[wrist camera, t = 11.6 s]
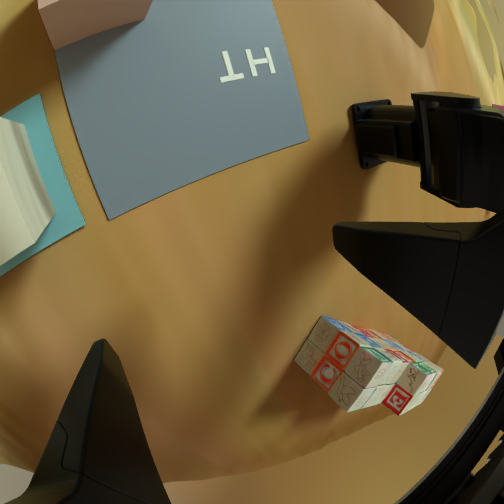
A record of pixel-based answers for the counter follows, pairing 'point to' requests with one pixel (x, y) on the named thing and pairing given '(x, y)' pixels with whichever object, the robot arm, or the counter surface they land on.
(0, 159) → the maple block
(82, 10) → the terracotta block
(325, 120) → the counter surface
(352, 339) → the stack of blocks
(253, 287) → the counter surface
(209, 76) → the card
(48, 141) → the teal pad
